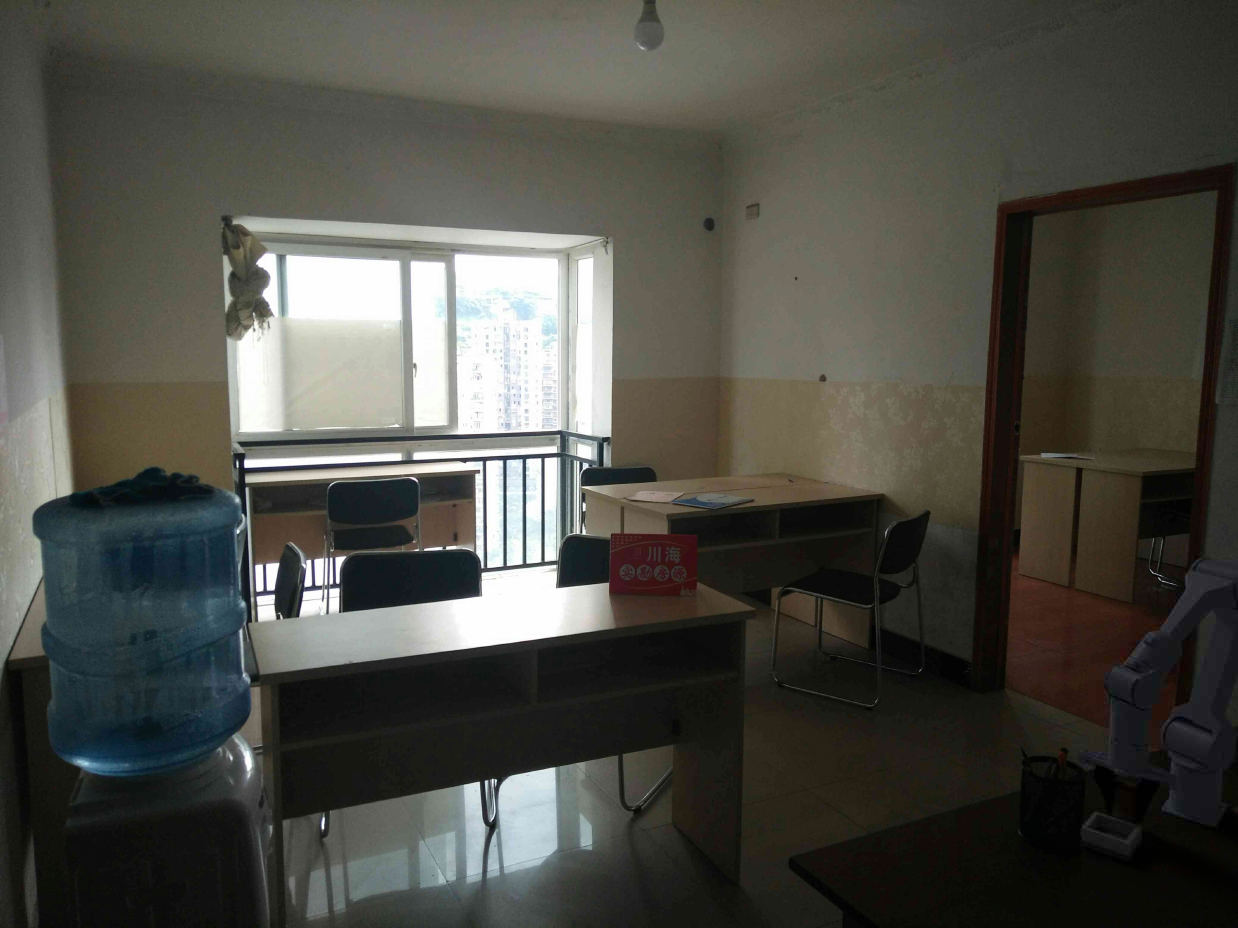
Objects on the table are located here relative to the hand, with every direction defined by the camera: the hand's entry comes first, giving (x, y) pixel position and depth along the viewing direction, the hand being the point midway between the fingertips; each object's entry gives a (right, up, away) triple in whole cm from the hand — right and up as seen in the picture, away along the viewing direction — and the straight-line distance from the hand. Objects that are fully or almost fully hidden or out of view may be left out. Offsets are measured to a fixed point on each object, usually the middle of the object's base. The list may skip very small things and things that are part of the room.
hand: (1125, 815), depth 145 cm
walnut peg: (0, -2, 0) cm, 2 cm away
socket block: (-5, -3, -5) cm, 8 cm away
